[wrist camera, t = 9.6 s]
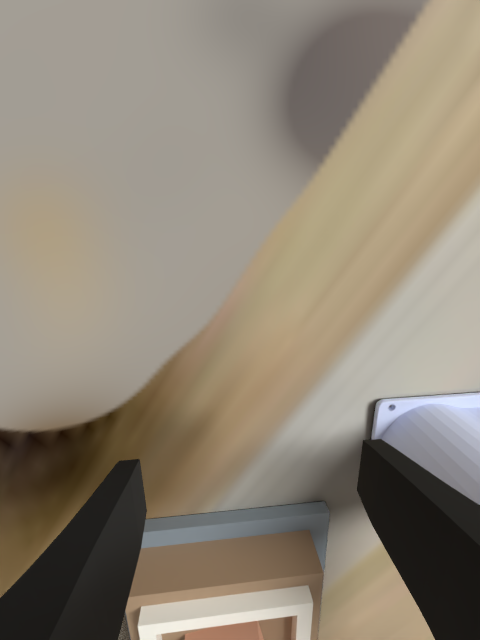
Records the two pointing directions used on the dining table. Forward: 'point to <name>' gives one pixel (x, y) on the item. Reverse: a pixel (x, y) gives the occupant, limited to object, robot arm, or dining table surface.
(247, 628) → the terracotta cube
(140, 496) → the robot arm
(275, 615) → the build base
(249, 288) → the dining table surface
